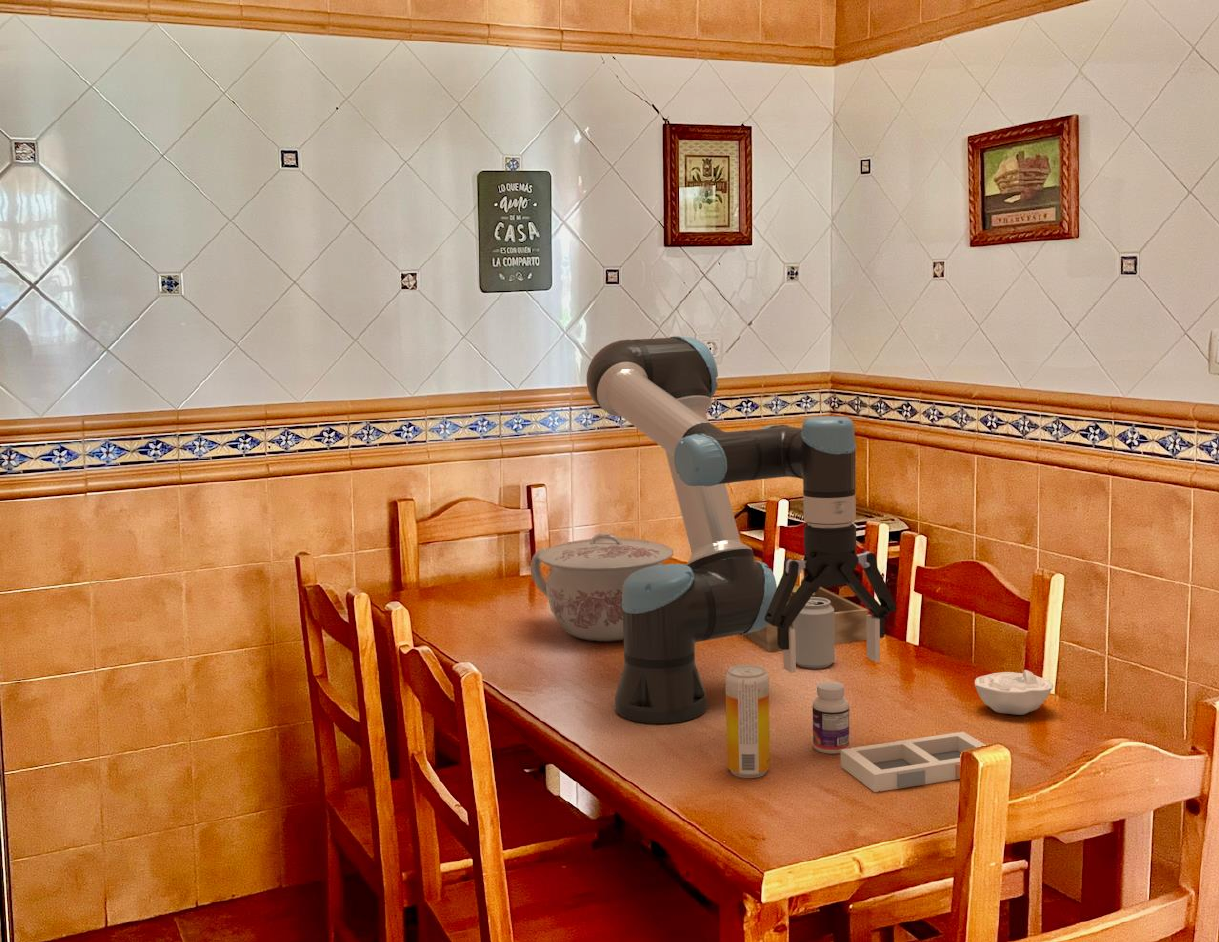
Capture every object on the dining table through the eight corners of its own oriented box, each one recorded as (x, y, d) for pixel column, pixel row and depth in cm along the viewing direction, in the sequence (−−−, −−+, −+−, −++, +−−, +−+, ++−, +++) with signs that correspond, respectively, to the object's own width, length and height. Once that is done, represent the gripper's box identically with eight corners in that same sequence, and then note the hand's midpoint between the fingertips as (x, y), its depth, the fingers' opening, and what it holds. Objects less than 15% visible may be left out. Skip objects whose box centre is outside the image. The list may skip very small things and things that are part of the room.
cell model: (970, 700, 204) (970, 660, 203) (1046, 702, 202) (1046, 662, 201) (978, 721, 194) (978, 680, 193) (1057, 723, 192) (1058, 681, 191)
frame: (768, 652, 234) (768, 621, 234) (725, 623, 255) (725, 595, 255) (868, 640, 240) (868, 609, 239) (818, 613, 261) (818, 585, 260)
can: (834, 670, 222) (833, 605, 220) (792, 669, 223) (791, 604, 222) (835, 658, 229) (834, 595, 227) (794, 657, 231) (793, 594, 229)
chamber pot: (698, 641, 244) (696, 537, 241) (567, 660, 234) (563, 552, 231) (642, 609, 269) (640, 515, 266) (522, 625, 259) (518, 528, 256)
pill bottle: (812, 741, 188) (811, 679, 186) (848, 741, 187) (847, 679, 186) (813, 754, 182) (813, 691, 181) (850, 754, 182) (850, 691, 180)
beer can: (766, 762, 180) (764, 662, 178) (773, 778, 174) (771, 675, 172) (724, 764, 180) (722, 664, 178) (730, 780, 174) (728, 677, 172)
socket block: (876, 793, 168) (876, 775, 167) (840, 766, 178) (840, 749, 177) (1004, 773, 173) (1004, 756, 173) (963, 747, 183) (963, 731, 183)
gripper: (760, 535, 173) (764, 682, 176) (919, 520, 180) (920, 661, 182) (740, 526, 180) (743, 668, 183) (893, 512, 187) (894, 649, 190)
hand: (831, 665), depth 183 cm, fingers open, 13 cm apart
